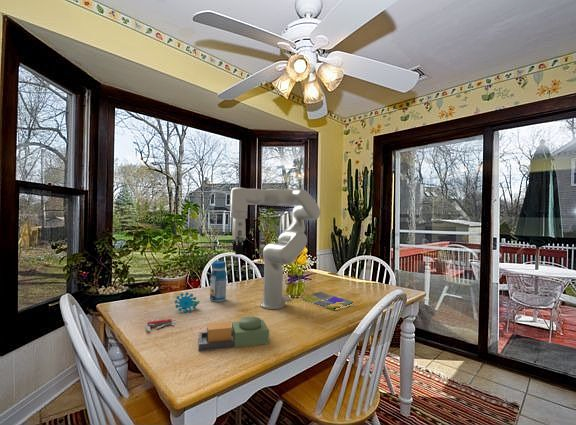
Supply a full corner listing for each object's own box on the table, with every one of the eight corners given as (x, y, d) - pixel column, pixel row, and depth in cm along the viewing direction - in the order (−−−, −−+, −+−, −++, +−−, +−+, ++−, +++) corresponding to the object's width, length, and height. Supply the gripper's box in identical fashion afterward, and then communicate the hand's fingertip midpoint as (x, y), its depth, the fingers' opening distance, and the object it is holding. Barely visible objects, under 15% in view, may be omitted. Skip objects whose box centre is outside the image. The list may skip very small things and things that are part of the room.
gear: (173, 310, 129) (176, 290, 136) (171, 316, 133) (174, 297, 140) (198, 312, 133) (200, 292, 140) (196, 317, 137) (198, 298, 144)
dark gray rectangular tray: (231, 335, 110) (231, 329, 110) (234, 347, 100) (235, 340, 100) (198, 338, 106) (198, 332, 106) (198, 351, 96) (198, 344, 96)
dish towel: (332, 312, 140) (332, 307, 140) (299, 299, 160) (299, 294, 160) (355, 306, 151) (355, 301, 151) (322, 295, 170) (322, 290, 170)
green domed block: (262, 332, 113) (263, 314, 113) (268, 343, 104) (269, 324, 104) (231, 335, 110) (232, 316, 110) (234, 347, 100) (235, 327, 100)
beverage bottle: (222, 302, 148) (223, 263, 148) (206, 301, 149) (208, 262, 149) (228, 298, 156) (229, 261, 156) (213, 296, 158) (214, 260, 158)
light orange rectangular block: (229, 335, 107) (230, 321, 107) (231, 342, 102) (231, 327, 102) (206, 337, 105) (206, 323, 105) (206, 344, 99) (207, 329, 99)
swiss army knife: (175, 318, 126) (175, 313, 126) (179, 329, 114) (179, 324, 114) (145, 321, 120) (145, 317, 120) (147, 334, 108) (147, 328, 108)
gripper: (250, 215, 124) (248, 255, 124) (244, 215, 140) (242, 250, 140) (232, 215, 121) (231, 255, 121) (228, 214, 138) (227, 250, 138)
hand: (237, 252), depth 131 cm, fingers open, 9 cm apart
